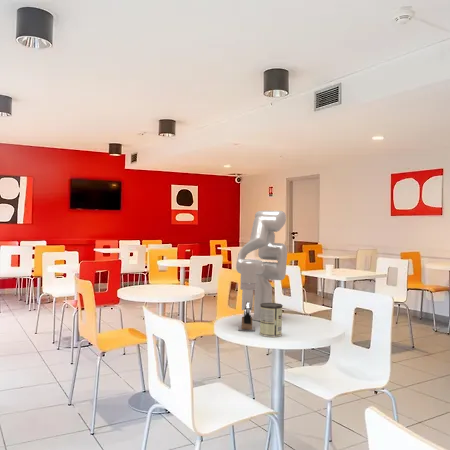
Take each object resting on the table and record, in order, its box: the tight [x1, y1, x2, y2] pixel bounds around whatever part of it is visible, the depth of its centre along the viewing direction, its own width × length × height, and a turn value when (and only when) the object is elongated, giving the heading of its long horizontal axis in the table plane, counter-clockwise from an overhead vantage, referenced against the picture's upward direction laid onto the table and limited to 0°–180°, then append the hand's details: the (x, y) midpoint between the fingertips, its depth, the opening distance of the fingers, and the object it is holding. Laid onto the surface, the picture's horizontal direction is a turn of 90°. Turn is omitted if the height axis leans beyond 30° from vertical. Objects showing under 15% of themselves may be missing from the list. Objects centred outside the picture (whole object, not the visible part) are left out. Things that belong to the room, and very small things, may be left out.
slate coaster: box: [238, 325, 256, 332], centre depth 218 cm, size 8×8×1 cm
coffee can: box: [259, 302, 284, 338], centre depth 208 cm, size 10×10×14 cm
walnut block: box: [241, 316, 253, 329], centre depth 218 cm, size 5×5×5 cm
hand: (247, 321), depth 218 cm, fingers open, 9 cm apart
